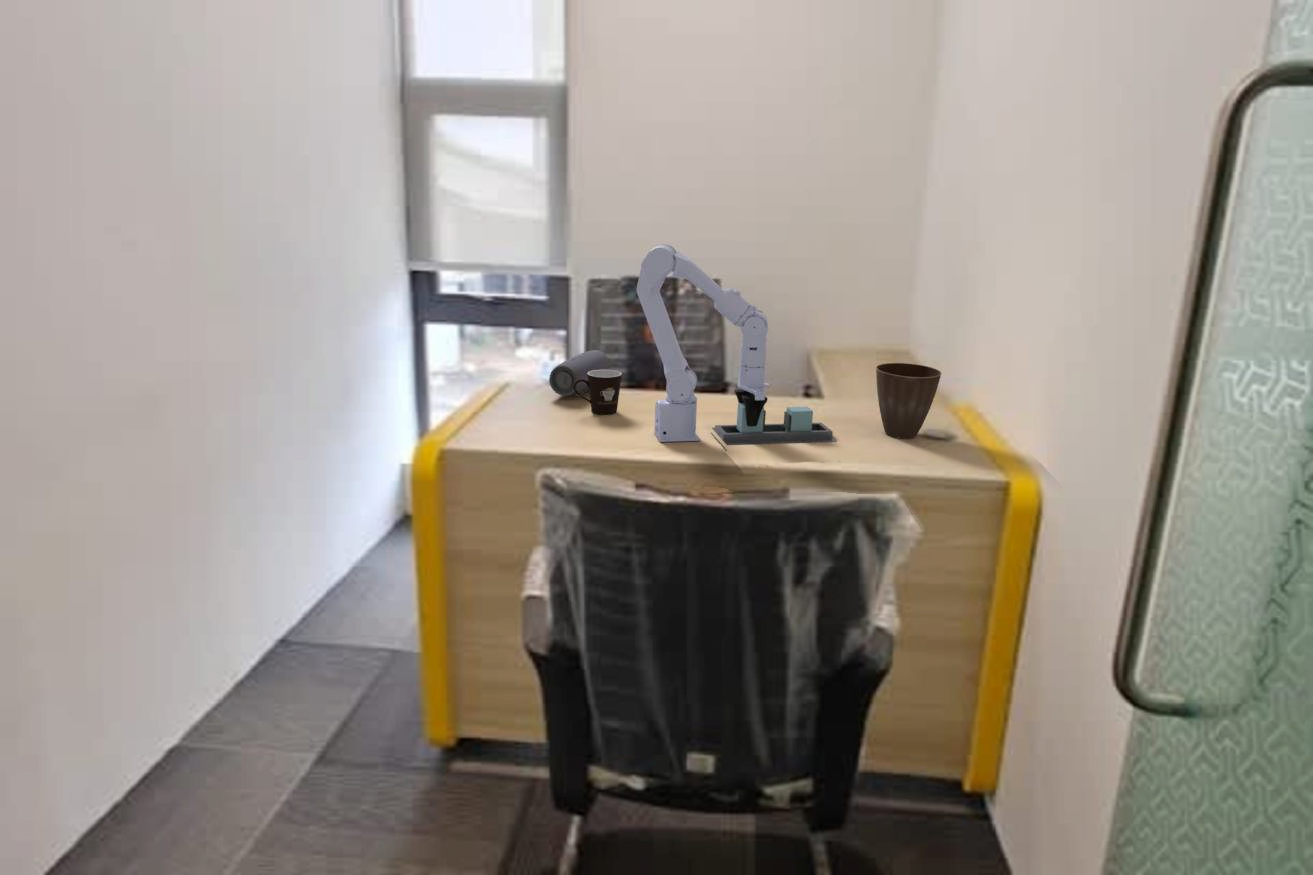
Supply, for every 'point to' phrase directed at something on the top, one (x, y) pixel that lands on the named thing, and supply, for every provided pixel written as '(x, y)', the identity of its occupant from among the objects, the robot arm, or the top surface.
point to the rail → (773, 435)
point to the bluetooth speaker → (577, 372)
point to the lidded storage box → (743, 424)
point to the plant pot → (905, 396)
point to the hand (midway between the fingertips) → (749, 423)
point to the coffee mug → (602, 391)
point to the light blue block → (798, 419)
